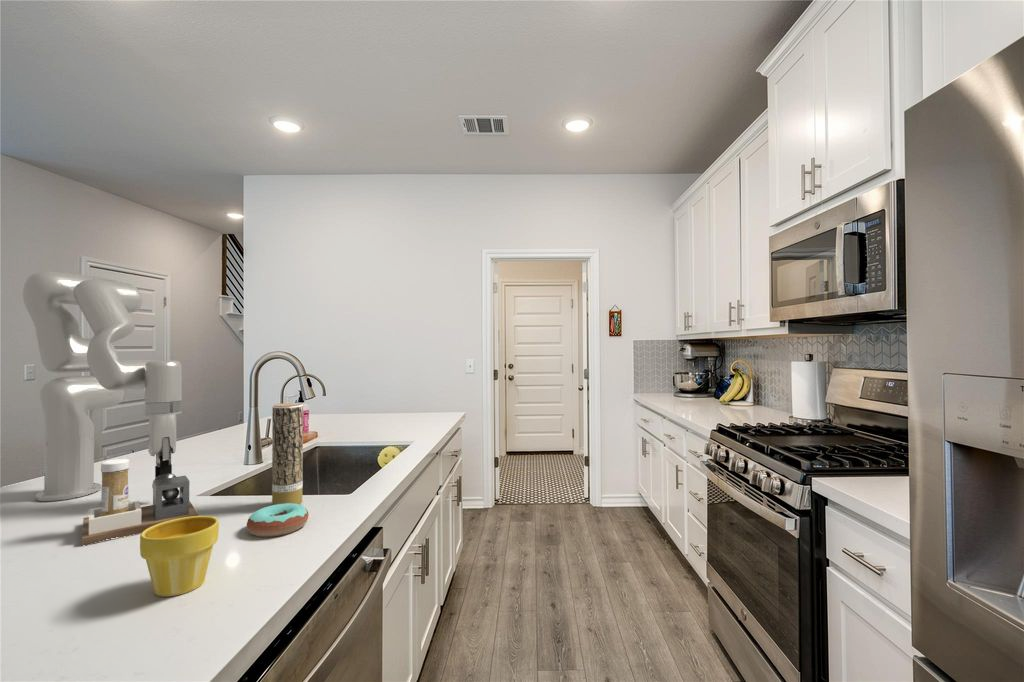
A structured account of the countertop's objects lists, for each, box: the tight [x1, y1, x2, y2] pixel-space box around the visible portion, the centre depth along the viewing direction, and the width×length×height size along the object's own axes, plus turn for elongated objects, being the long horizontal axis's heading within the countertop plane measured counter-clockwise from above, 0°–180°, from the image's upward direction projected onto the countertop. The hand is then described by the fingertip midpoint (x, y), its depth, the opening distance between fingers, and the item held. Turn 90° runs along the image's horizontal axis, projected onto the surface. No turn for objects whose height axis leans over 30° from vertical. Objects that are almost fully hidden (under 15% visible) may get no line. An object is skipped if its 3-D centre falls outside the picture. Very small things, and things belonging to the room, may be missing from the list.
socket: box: [88, 500, 142, 535], centre depth 96 cm, size 8×8×3 cm
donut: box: [246, 503, 309, 538], centre depth 98 cm, size 12×12×4 cm
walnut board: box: [81, 500, 199, 547], centre depth 101 cm, size 15×19×2 cm
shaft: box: [152, 473, 180, 501], centre depth 106 cm, size 11×5×5 cm, turn 43°
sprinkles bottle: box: [100, 458, 130, 516], centre depth 97 cm, size 5×5×14 cm
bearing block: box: [152, 475, 190, 521], centre depth 102 cm, size 6×6×8 cm
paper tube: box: [271, 402, 304, 506], centre depth 112 cm, size 7×7×25 cm
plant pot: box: [139, 515, 220, 598], centre depth 74 cm, size 10×10×10 cm
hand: (163, 480), depth 114 cm, fingers closed
